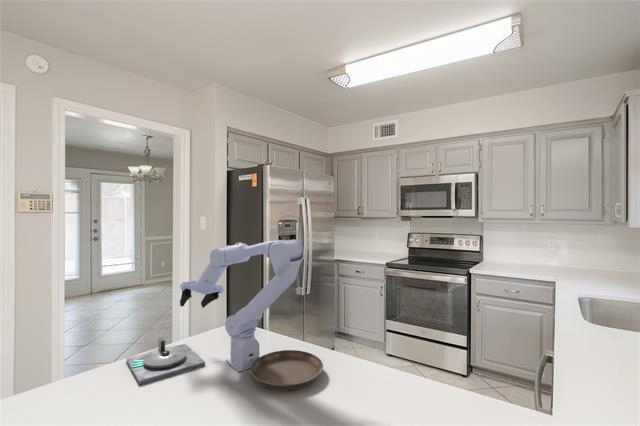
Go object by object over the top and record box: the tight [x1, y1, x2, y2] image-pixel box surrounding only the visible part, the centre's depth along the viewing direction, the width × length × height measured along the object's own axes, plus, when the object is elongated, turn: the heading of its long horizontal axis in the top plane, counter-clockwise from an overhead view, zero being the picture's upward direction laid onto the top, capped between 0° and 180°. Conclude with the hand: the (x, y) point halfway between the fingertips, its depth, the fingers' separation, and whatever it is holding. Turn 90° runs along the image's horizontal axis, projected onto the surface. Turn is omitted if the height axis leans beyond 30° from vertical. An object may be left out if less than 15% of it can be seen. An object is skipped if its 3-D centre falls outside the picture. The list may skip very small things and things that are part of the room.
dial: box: [143, 337, 186, 368], centre depth 103 cm, size 12×12×5 cm
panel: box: [125, 343, 206, 386], centre depth 103 cm, size 18×18×2 cm
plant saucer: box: [250, 349, 324, 392], centre depth 96 cm, size 21×21×3 cm
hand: (192, 304), depth 115 cm, fingers open, 7 cm apart
